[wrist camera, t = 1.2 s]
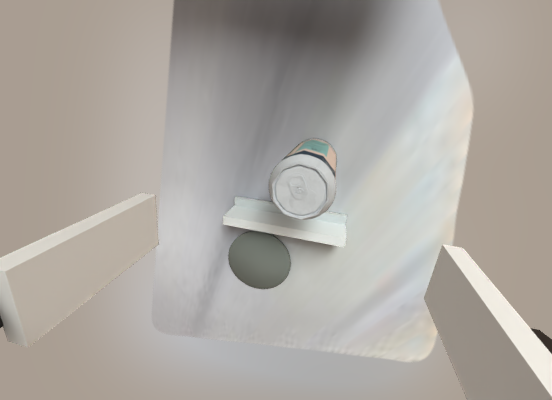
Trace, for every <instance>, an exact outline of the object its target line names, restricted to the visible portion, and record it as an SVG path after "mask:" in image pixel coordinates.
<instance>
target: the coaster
mask: <svg viewBox="0 0 552 400" xmlns="http://www.w3.org/2000/svg"><path fill="white" fill-rule="evenodd" d="M229 264H230V267H231V269H232V271H233V272H234V274H235V275H236V276H237V277H238V278H239V279H240V280H241V281H242V282H244V283H245V284H247V285H249V286H251V287H255V288H259V289H268V288H273V287H275V286H277V285H279V284H281V283H282V282H283V281H284V280H285V279H286V277H287V276H288V273H289V270H290V265H291V261H290V255H289V253H288V250H287V249H286V247H285V246H284V244H283V243H282V242H281V241H280V240H279V239H278V238H276V237H275V236H273V235H271V234H269V233H266V232H260V231H250V232H246V233H244V234H242V235H240V236H239V237H237V238H236V239H235V241H234V242H233V243H232V245H231V247H230V250H229Z"/></svg>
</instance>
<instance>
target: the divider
mask: <svg viewBox="0 0 552 400" xmlns="http://www.w3.org/2000/svg"><path fill="white" fill-rule="evenodd" d="M346 221H347V215H346V214H340V213H334V212H328V211H326V212H324V213H323V214H321V215H320V216H318V217H315V218H313V219H308V220H299V219H295V218H292V217H289V216H287V215H285V214H283V213H282V212H281V211H280V210H279V209H278V208H277V207H276V206H275V205H274V203H273V202H269V201H263V200H257V199H251V198H245V197H239V196H236V197H235V203H234V206H233V207H232V208H231V209H230V210H229V211H228V212H227V213H226V214H225V215H224V216H223V225H228V226H234V227H239V228H244V229H250V230H255V231H260V232H266V233H271V234H276V235H282V236H287V237H292V238H298V239H303V240H308V241H313V242H319V243H324V244H329V245H335V246H340V247H345V244H346V239H347V238H346Z"/></svg>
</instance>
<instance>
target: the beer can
mask: <svg viewBox="0 0 552 400" xmlns="http://www.w3.org/2000/svg"><path fill="white" fill-rule="evenodd" d="M336 165H337V156H336V153H335V151H334V149H333V148H332V146H331V145H330V144H329V143H327V142H326V141H324V140H321V139H315V138H312V139H308V140H305V141H303V142H301V143H300V144H299V145H298V146H297V147H295V148H294V149H293V150H292V151H291V152H290V153H289V154H288V155H287V156H286V157H285V158H284V159H283V160H282V161H281V162H280V163H279V164H278V165H277V166H276V167H275V168H274V170H273V172H272V173H271V176H270V180H269V193H270V196H271V199H272V201H273V203H274V205H275V206H276V207H277V208H278V209H279V210H280V211H281V212H282V213H283V214H285V215H287V216H289V217H292V218H295V219H299V220H308V219H313V218H315V217H318V216H320V215H321V214H323V213H324V212H326V211H327V210H328V208H329V207H330V206H331V204H332V203H333V201H334V198H335V194H336V182H335V176H336Z"/></svg>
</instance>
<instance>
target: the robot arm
mask: <svg viewBox="0 0 552 400" xmlns="http://www.w3.org/2000/svg"><path fill="white" fill-rule="evenodd" d="M157 245H159V240H158V225H157V210H156V196H155V195H151V194H146V193H140V194H138V195H136V196H133V197H131V198H129V199H127V200H125V201H123V202H120V203H118V204H116V205H114V206H112V207H110V208H107V209H105V210H103V211H101V212H99V213H97V214H94V215H92V216H90V217H88V218H86V219H84V220H81V221H79V222H77V223H75V224H73V225H71V226H68V227H66V228H64V229H62V230H60V231H58V232H55V233H53V234H51V235H49V236H47V237H45V238H43V239H40V240H38V241H36V242H34V243H31V244H29V245H27V246H25V247H23V248H21V249H18V250H16V251H14V252H12V253H10V254H8V255H6V256H3V257H1V258H0V328H1V327H2V326H3V328H4V331H5V334H6V337H7V340H8V341H9V342H12V343H16V344H19V345H22V346H25V347H29V346H30V345H32V344H33V343H34V342H36V341H37V340H38V339H39V338H41V337H42V336H43V335H44V334H46V333H47V332H48V331H49V330H51V329H52V328H53V327H54V326H56V325H57V324H58V323H60V322H61V321H62V320H63V319H65V318H66V317H67V316H68V315H70V314H71V313H72V312H74V311H75V310H76V309H77V308H79V307H80V306H81V305H82V304H84V303H85V302H86V301H88V300H89V299H90V298H91V297H93V296H94V295H95V294H96V293H98V292H99V291H100V290H101V289H103V288H104V287H105V286H106V285H108V284H109V283H110V282H112V281H113V280H114V279H115V278H117V277H118V276H119V275H120V274H122V273H123V272H124V271H126V270H127V269H128V268H129V267H131V266H132V265H133V264H134V263H136V262H137V261H138V260H139V259H140V258H142V257H143V256H145V255H146V254H147V253H148V252H150V251H151V250H152V249H153V248H155V247H156V246H157ZM424 300H425V302H426V305H427V307H428V309H429V312H430V314H431V316H432V319H433V321H434V323H435V326H436V328H437V330H438V333H439V335H440V337H441V340H442V342H443V344H444V347H445V349H446V352H447V354H448V356H449V359H450V361H451V363H452V366H453V368H454V370H455V373H456V375H457V377H458V380H459V382H460V384H461V387H462V389H463V391H464V394H465V396H466V399H467V400H552V339H550V338H549V337H548V336H546V335H545V334H544V333H543V332H541V331H540V330H536V329H531V328H529V326H528V325H527V324H526V323H525V322H524V321H523V319H522V318H521V317H520V316H519V315H518V314H517V312H516V311H515V310H514V309H513V308H512V306H511V305H510V304H509V303H508V302H507V300H506V299H505V298H504V297H503V295H502V294H501V293H500V292H499V291H498V289H497V288H496V287H495V286H494V285H493V283H492V282H491V281H490V280H489V279H488V277H487V276H486V275H485V274H484V273H483V271H482V270H481V269H480V268H479V267H478V266H477V264H476V263H475V262H474V261H473V260H472V258H471V257H470V256H469V255H468V254H467V252H466V251H465V250H464V249H463V248H460V247H454V246H449V245H442V247H441V250H440V253H439V256H438V259H437V262H436V265H435V268H434V271H433V274H432V277H431V279H430V282H429V285H428V288H427V291H426V294H425V297H424Z"/></svg>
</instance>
